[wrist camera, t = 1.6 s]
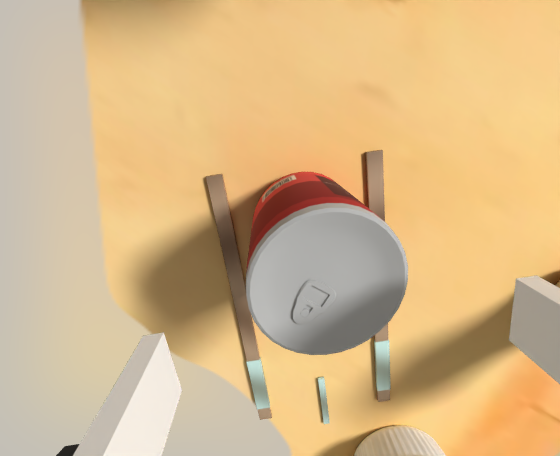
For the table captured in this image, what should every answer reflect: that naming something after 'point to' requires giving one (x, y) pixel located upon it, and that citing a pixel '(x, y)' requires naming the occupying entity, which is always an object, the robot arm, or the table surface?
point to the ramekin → (399, 443)
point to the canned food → (321, 267)
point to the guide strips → (240, 299)
